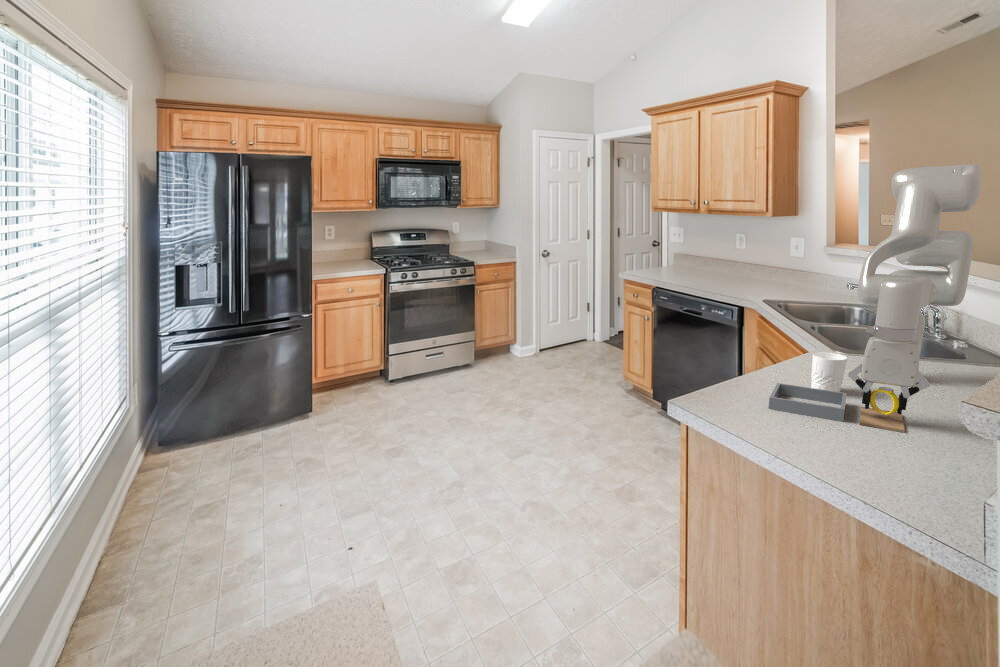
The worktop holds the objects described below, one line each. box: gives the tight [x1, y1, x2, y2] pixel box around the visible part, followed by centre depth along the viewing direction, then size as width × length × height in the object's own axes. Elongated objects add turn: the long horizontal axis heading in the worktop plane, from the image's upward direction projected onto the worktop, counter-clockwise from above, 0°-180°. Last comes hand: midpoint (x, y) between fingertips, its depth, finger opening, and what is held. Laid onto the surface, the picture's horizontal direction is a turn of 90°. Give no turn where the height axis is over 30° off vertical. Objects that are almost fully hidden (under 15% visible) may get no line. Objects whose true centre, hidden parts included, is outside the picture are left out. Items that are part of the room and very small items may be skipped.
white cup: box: [810, 351, 848, 392], centre depth 137 cm, size 8×8×10 cm
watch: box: [869, 386, 899, 415], centre depth 117 cm, size 6×3×6 cm, turn 15°
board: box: [859, 406, 906, 433], centre depth 117 cm, size 12×8×1 cm, turn 144°
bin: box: [768, 382, 848, 422], centre depth 127 cm, size 14×16×3 cm
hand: (882, 408), depth 117 cm, fingers closed on watch, 5 cm apart
